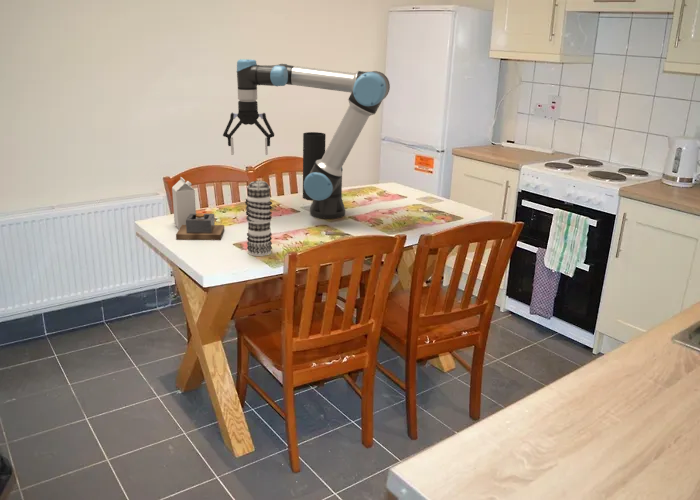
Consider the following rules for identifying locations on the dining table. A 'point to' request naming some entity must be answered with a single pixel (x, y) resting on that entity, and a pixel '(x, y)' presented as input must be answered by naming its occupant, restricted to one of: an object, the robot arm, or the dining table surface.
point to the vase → (312, 153)
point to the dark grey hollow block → (200, 224)
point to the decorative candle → (259, 218)
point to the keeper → (214, 235)
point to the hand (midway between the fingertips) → (249, 154)
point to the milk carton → (183, 202)
